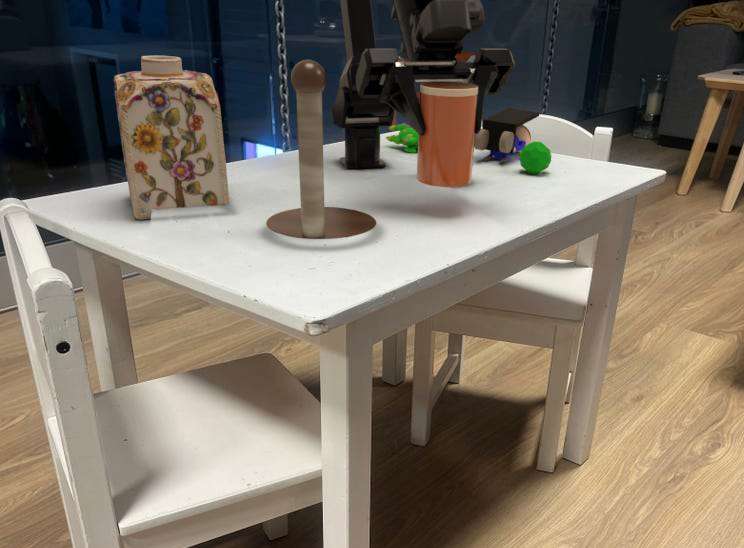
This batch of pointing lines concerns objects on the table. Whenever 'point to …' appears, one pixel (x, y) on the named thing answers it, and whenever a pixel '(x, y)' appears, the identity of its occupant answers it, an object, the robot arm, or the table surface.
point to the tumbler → (447, 133)
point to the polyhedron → (535, 157)
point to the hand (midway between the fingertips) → (450, 132)
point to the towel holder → (314, 169)
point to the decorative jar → (171, 137)
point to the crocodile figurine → (404, 137)
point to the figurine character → (504, 133)
